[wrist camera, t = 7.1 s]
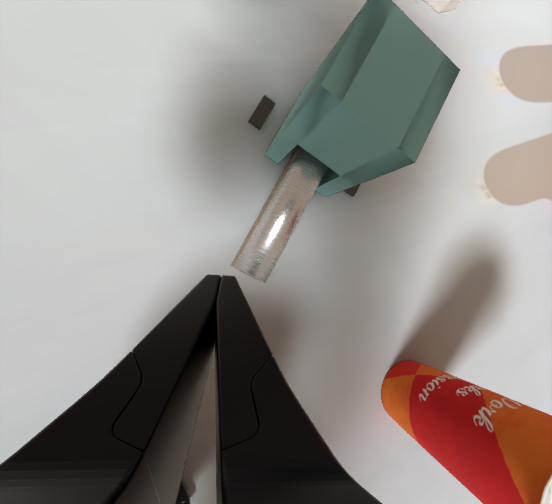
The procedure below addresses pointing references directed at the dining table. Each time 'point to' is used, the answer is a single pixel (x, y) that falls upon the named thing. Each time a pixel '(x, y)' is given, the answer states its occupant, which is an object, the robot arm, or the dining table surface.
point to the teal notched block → (369, 100)
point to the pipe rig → (280, 207)
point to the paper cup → (474, 433)
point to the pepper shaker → (443, 4)
